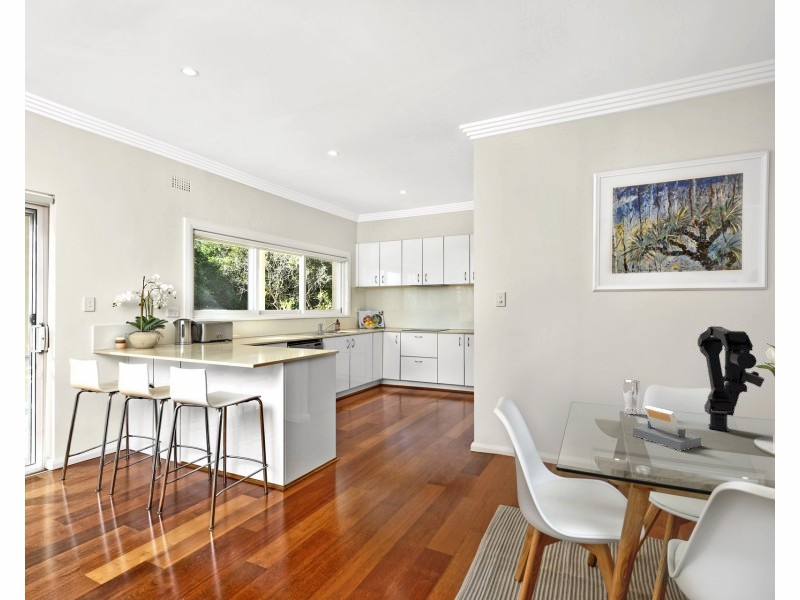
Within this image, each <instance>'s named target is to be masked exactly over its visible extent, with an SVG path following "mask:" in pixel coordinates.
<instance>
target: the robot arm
mask: <svg viewBox="0 0 800 600" xmlns="http://www.w3.org/2000/svg"><path fill="white" fill-rule="evenodd" d="M697 346H698V347H699V351H700V353H701V354H702V355H703V356H704V357H705V360H706V367H707V373H708V378H709V384H710V389H711V391H710V392H709V394H708V395H707V400H706V401H705V404H704V412H705V413H707V414H708V415H709V423H708V429H709V430H712V431H713V430H715V431H722V432H730V429H729V426H728V416H731V417H732V416H734V415H735V409H736V407H737V404H738V401H739V397H740V394H741V393H747V392H748V385H747V384H746V383H749V384H752V385H755V387H758V388H761V387H762V385H763V383H764V382H765V378H764V377H762V376H760V373H759V372H757V371H754V370H753V371H751V372H749V371H747V370H749V369H753V368H754V367H755V366H756V364H757V362H758V361H757V358H756V356H755V355H754V354H752V353H751V352H752V351H753V348H754V345H753V343H752V341H751V338H750V336H749V335H748V334H747V332H746V331H742V330H730V329H727V328H725V327H723V326H713V325H711V326H708V327H707V330H705V331H704V332H703V331H702V333H700V334H699V337H698V338H697ZM723 348H724V374H723V371H722V370H723V369H722V364H721V359H720V358H721V357H720V354H721V353H722V351H723ZM750 351H751V352H750Z"/></svg>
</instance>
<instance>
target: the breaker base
mask: <svg viewBox="0 0 800 600" xmlns="http://www.w3.org/2000/svg"><path fill="white" fill-rule="evenodd" d="M633 435H636V436H639V437H642V438H645V439H648V440H651V441H654V442H657V443H660V444H663V445H666V446H669V447H672V448H675V449H678V450H684V449H688V448H692V449H694V448H693V447H695V448H698V446H699V447H701V446H702V437H701V436H697V435H695V434H691V433H687V432H686V429H685V428H679V434H678V435H677V434H674V433H670V432H667V431H663V430H660V429H657V428H653V427H651V424H650V421H649V420H647V424H645V425H640V426H639V425H638V426H634V427H632V436H633ZM672 448H671V449H672ZM675 449H674V450H675ZM678 450H677V451H678ZM688 450H689V449H688ZM684 451H685V450H684Z"/></svg>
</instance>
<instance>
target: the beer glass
mask: <svg viewBox="0 0 800 600" xmlns="http://www.w3.org/2000/svg"><path fill="white" fill-rule="evenodd" d="M622 384H623V385H622V391H623V392H622V393H623V394H622V395H623V399H624V400H623V401H624V410H623V413H624V412H627V413H634V414H638V413H639V414H640V411H639V401H640V397H641V382H640V381H639V380H636V379H623V383H622Z"/></svg>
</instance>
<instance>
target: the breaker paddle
mask: <svg viewBox="0 0 800 600" xmlns="http://www.w3.org/2000/svg"><path fill="white" fill-rule="evenodd" d="M644 410H645V413H646V415H647V419H648V421H650V424H651V427H653V428H657V429H660V430H663V431H667V432H670V433H674V434H677V435H678V434H679V429H680V427H679V424H678V421H677V418H676V415H675V413H674V411H672V410H668V409H663V408H659V407H655V406H651V405H645V407H644Z"/></svg>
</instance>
